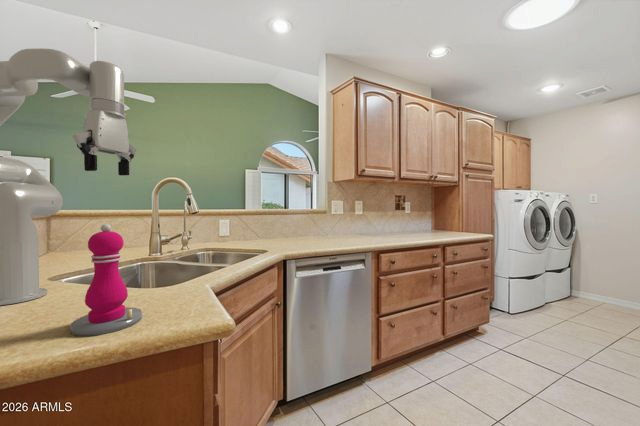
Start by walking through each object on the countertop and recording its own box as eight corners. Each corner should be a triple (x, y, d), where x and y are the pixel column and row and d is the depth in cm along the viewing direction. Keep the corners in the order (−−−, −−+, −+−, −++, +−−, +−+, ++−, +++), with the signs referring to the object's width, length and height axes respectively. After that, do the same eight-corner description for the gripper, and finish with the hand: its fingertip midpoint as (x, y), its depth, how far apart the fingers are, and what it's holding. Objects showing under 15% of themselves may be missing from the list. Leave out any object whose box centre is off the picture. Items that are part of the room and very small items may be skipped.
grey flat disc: (53, 333, 54) (53, 317, 54) (110, 311, 66) (110, 297, 66) (105, 338, 52) (105, 321, 52) (154, 314, 64) (154, 300, 64)
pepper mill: (77, 326, 54) (76, 225, 54) (94, 313, 61) (93, 223, 61) (120, 321, 56) (119, 224, 56) (132, 309, 63) (131, 222, 63)
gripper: (123, 121, 85) (124, 177, 85) (61, 99, 68) (62, 169, 68) (144, 120, 83) (145, 176, 84) (87, 97, 66) (88, 168, 67)
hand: (108, 173), depth 76 cm, fingers open, 9 cm apart
